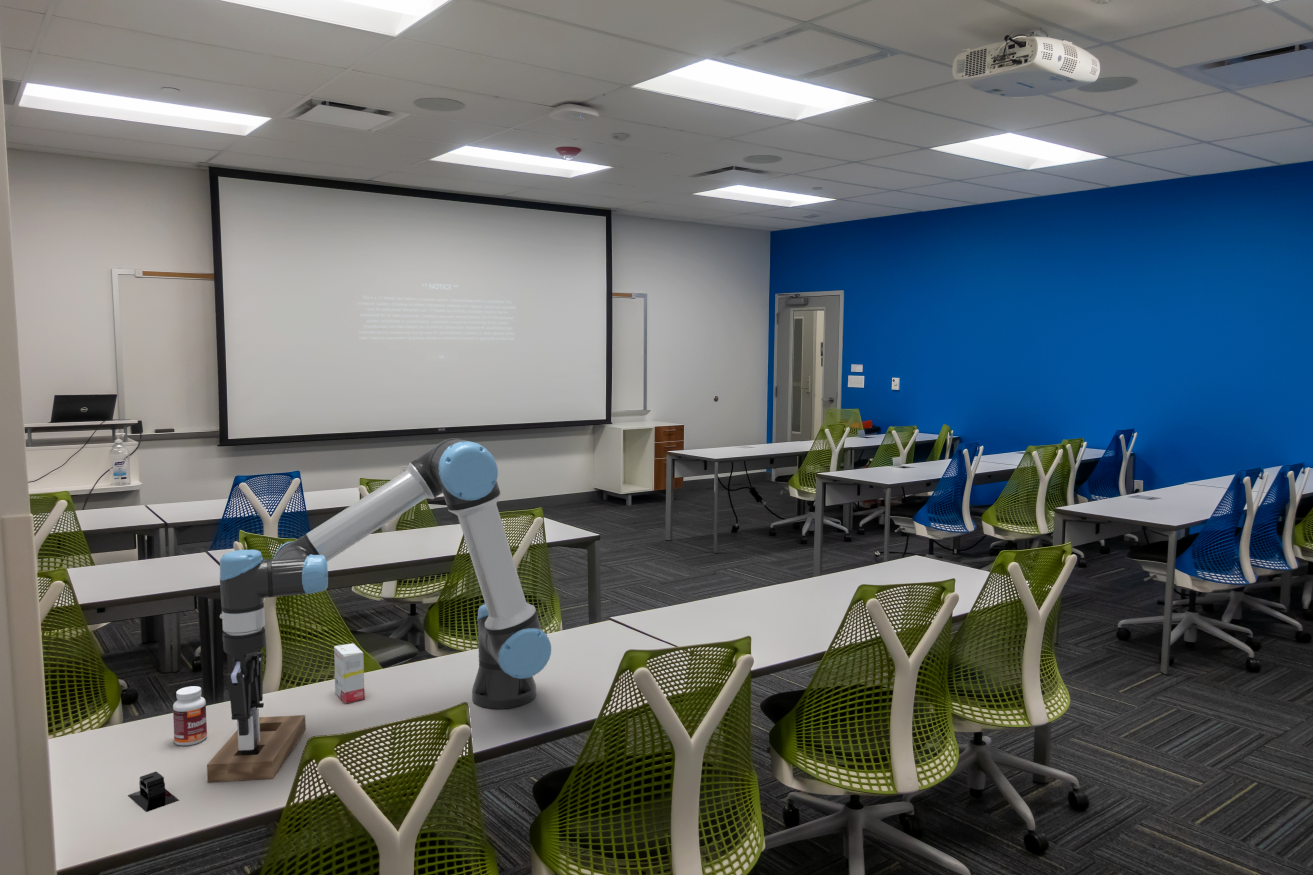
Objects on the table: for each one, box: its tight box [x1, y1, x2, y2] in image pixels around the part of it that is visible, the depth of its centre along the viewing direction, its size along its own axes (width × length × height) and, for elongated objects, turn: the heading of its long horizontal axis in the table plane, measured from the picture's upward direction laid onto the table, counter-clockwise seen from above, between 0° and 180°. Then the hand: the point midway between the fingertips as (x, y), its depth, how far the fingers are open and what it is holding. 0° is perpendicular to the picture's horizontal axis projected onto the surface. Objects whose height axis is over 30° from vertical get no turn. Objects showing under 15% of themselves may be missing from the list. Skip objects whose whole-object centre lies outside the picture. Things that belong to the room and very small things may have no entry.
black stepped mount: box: [127, 771, 180, 813], centre depth 160 cm, size 12×7×5 cm, turn 49°
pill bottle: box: [172, 685, 208, 747], centre depth 184 cm, size 6×6×11 cm
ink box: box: [333, 643, 366, 704], centre depth 208 cm, size 9×5×12 cm, turn 36°
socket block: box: [206, 714, 307, 783], centre depth 177 cm, size 12×22×4 cm, turn 6°
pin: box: [241, 706, 258, 755], centre depth 171 cm, size 3×3×12 cm
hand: (249, 744), depth 171 cm, fingers closed on pin, 3 cm apart
